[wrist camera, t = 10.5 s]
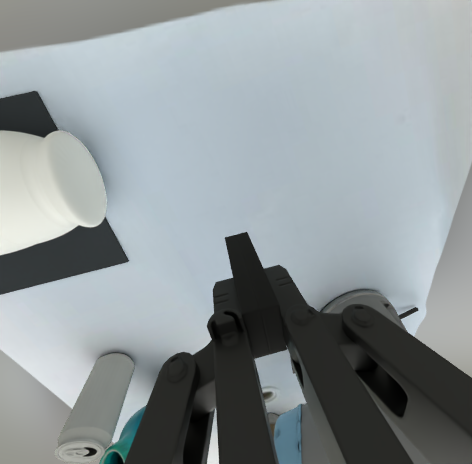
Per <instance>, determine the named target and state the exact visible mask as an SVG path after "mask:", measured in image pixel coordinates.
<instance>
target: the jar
mask: <svg viewBox="0 0 472 464" xmlns="http://www.w3.org/2000/svg"><path fill="white" fill-rule="evenodd" d="M106 209H107V197H106V191H105V186H104V182H103V179H102V176H101V173H100V171H99V169H98V167H97V164H96V162H95V161H94V159H93V157H92V155H91V154H90V152H89V151H88V150H87V148H86V147H85V146H84V145H83V143H82V142H81V141H79V140H78V139H77V138H76V137H75V136H73V135H72V134H70V133H68V132H65V131H54V132H52V133H50V134H48V135H47V136H46V137H45V138H43V137H39V136H35V135H32V134H27V133H22V132H15V131H2V130H0V255H4V254H8V253H11V252H15V251H18V250H21V249H24V248H27V247H30V246H33V245H35V244H38V243H42V242H45V241H48V240H51V239H54V238H57V237H59V236H61V235H64V234H66V233H67V232H69V231H71V230H72V229H74V228H75V227H77V226H78V225H80V226H84V227H95V226H98V225H99V224H100V223H101V222H102V221H103V219H104V218H105V214H106Z"/></svg>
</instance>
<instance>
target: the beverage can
mask: <svg viewBox="0 0 472 464" xmlns="http://www.w3.org/2000/svg"><path fill="white" fill-rule="evenodd" d="M133 371H134V363H133V361H132V360H131V359H130V358H129V357H128V356H127V355H124V354H121V353H111V354H107V355H105V356H102V357H100V358H99V359H98V360H97V361H96V363H95V365H94V367H93V369H92V371H91V373H90V375H89V377H88V379H87V381H86V383H85V385H84V387H83V389H82V391H81V393H80V395H79V397H78V399H77V401H76V403H75V405H74V407H73V409H72V411H71V413H70V415H69V418H68V419H67V421H66V423H65V425H64V427H63V430H62V432H61V434H60V436H59V437H58V447H57V449H56V451H55V456H56V457H57V458H58V459H59V460H61V461H63V462H67V463H72V464H85V463H91V462H94V461H97V460H99V459H100V458H102V457H103V455H104V453H105V449H106V448H107V447H108V446H109V444H110V443H111V441H112V438H113V435H114V432H115V428H116V425H117V422H118V419H119V416H120V413H121V409H122V406H123V403H124V400H125V397H126V394H127V390H128V387H129V384H130V381H131V378H132V374H133Z"/></svg>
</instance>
